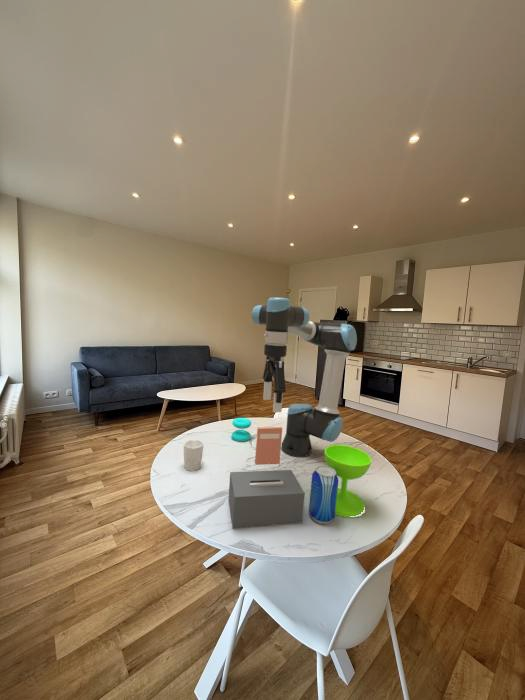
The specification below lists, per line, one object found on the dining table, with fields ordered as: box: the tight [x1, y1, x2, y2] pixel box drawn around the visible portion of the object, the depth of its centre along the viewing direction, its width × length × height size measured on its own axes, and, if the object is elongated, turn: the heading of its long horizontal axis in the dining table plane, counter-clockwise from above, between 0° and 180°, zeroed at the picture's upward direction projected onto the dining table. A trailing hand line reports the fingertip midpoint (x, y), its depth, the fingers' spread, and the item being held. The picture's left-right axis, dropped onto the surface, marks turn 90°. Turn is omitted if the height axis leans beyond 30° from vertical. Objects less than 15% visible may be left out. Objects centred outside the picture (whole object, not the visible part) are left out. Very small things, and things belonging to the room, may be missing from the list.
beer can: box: [308, 465, 339, 525], centre depth 92 cm, size 8×8×16 cm
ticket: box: [254, 426, 283, 466], centre depth 92 cm, size 8×1×12 cm, turn 102°
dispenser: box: [228, 469, 305, 529], centre depth 94 cm, size 22×14×11 cm, turn 102°
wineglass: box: [323, 444, 372, 518], centre depth 101 cm, size 16×16×18 cm
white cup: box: [183, 439, 204, 472], centre depth 118 cm, size 8×8×10 cm
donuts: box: [231, 417, 252, 442], centre depth 150 cm, size 10×10×10 cm
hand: (271, 405), depth 98 cm, fingers open, 13 cm apart
